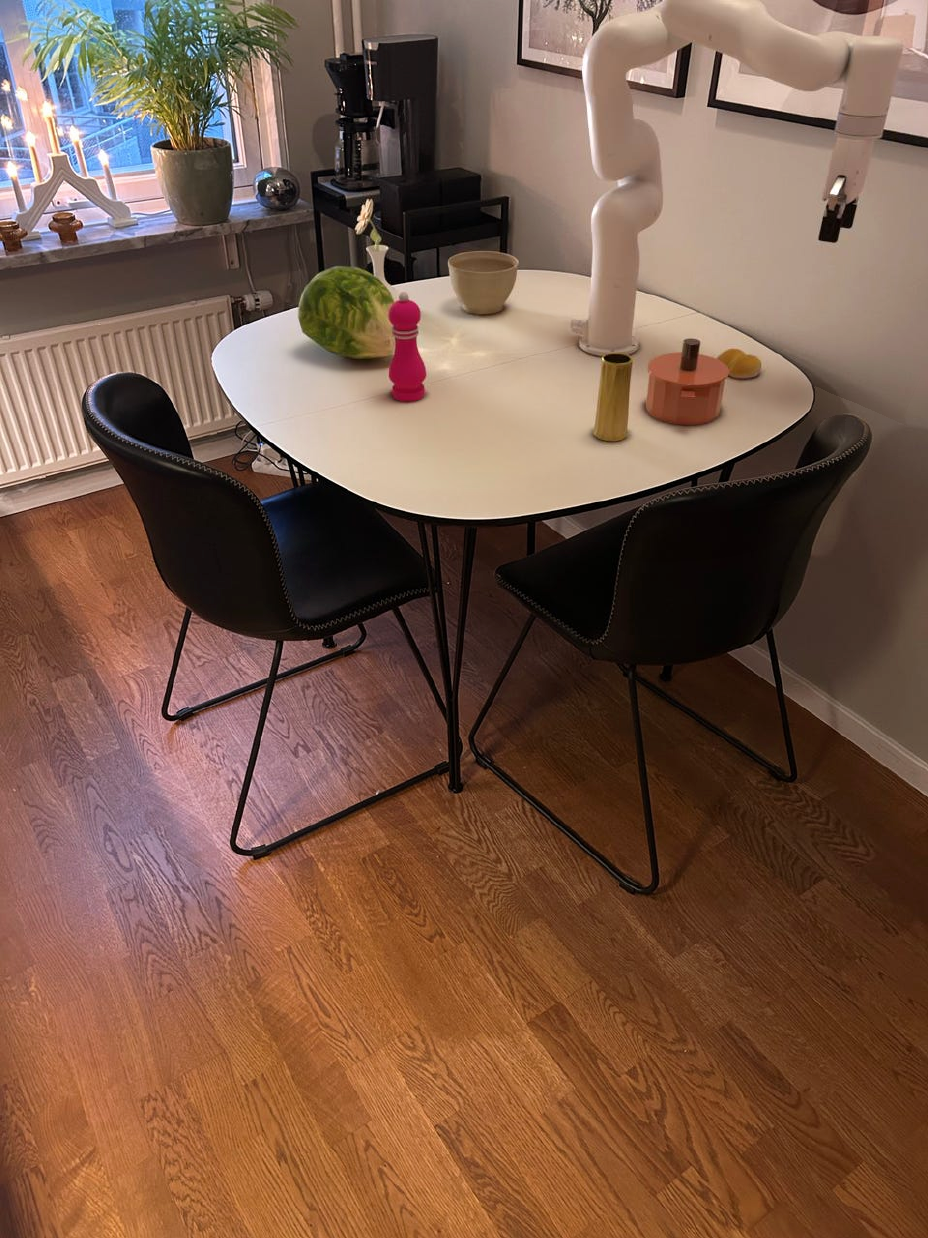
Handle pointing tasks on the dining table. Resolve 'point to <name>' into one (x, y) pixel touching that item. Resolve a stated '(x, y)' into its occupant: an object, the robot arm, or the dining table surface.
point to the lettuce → (348, 313)
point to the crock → (683, 402)
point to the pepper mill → (406, 351)
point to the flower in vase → (375, 247)
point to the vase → (613, 397)
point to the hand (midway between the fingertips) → (835, 234)
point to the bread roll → (740, 363)
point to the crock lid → (688, 367)
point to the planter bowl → (483, 279)
